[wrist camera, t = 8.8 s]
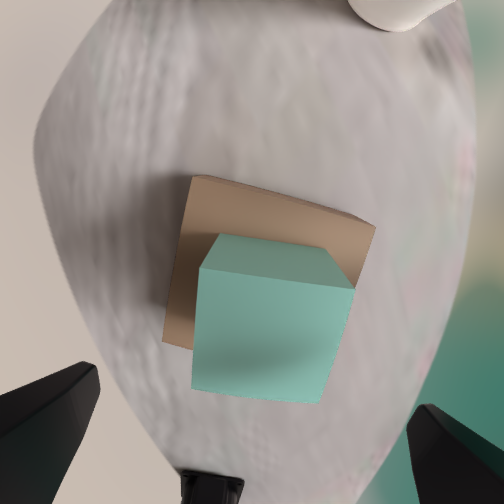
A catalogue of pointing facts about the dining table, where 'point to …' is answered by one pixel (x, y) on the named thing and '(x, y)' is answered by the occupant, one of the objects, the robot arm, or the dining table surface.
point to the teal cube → (268, 319)
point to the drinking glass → (396, 12)
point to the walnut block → (254, 226)
